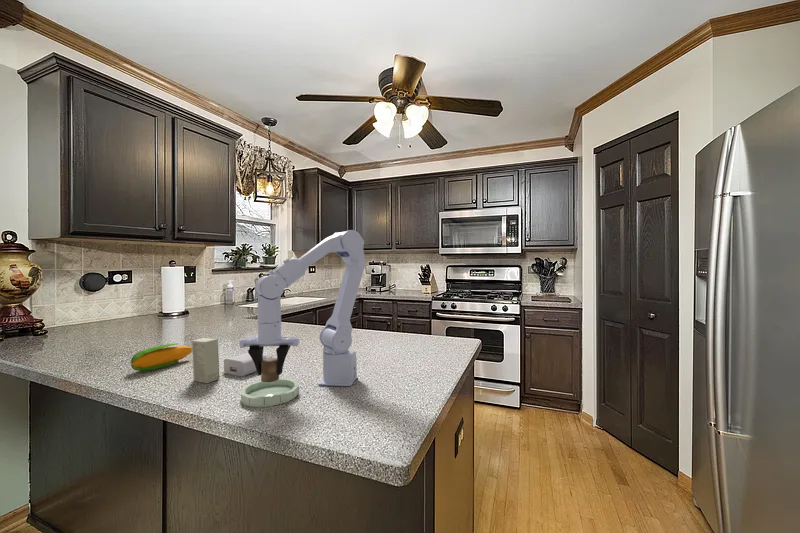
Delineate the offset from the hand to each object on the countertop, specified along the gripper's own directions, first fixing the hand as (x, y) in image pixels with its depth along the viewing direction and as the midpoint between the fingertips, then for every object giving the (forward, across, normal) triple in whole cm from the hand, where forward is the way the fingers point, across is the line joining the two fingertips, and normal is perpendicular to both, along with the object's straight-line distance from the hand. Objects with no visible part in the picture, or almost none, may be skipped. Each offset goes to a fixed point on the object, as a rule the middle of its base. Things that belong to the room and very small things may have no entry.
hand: (270, 373), depth 90 cm
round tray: (+6, 0, 0) cm, 6 cm away
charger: (+6, +13, -25) cm, 29 cm away
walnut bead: (+1, 0, 0) cm, 1 cm away
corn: (+6, +44, -30) cm, 54 cm away
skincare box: (+6, +23, -14) cm, 28 cm away
